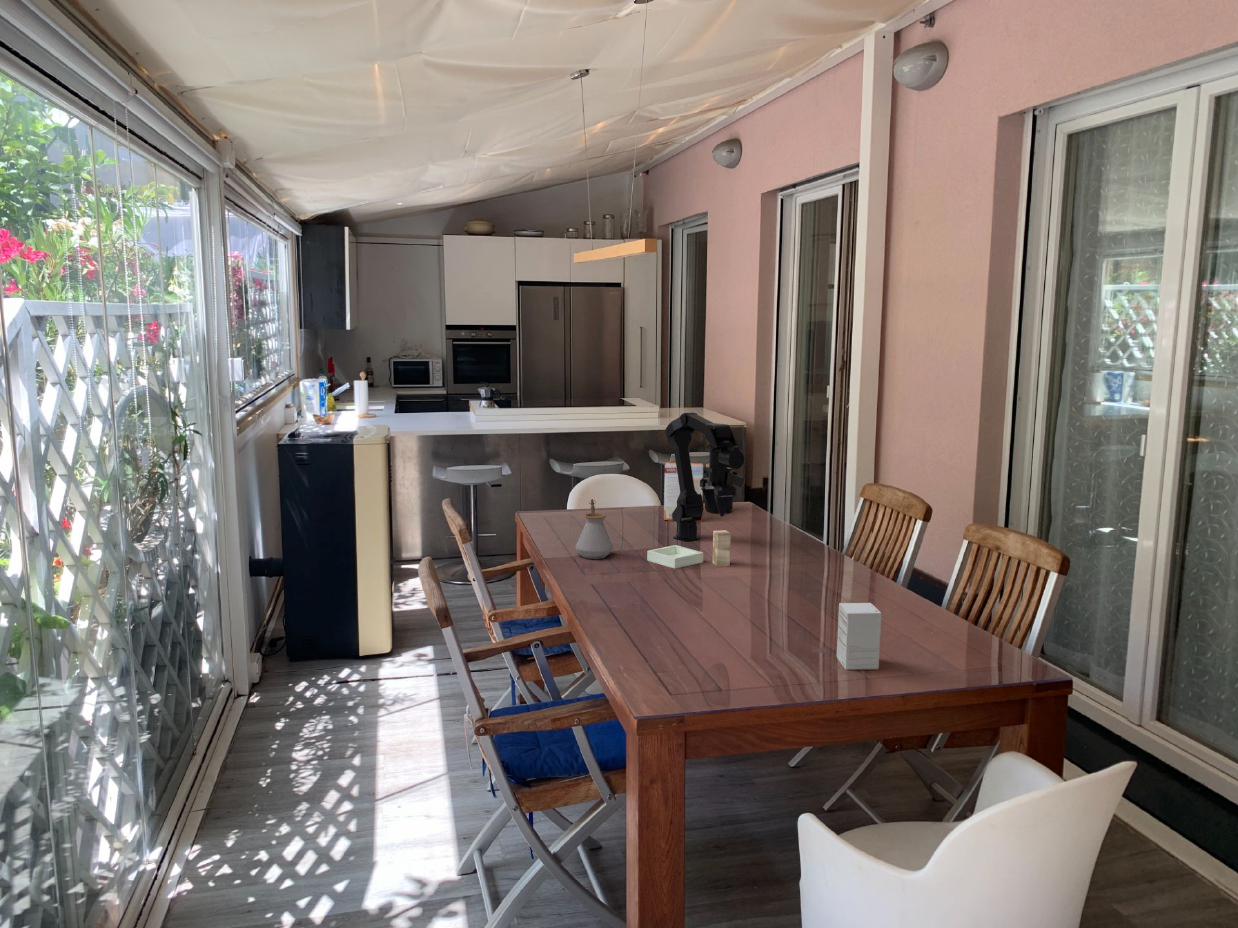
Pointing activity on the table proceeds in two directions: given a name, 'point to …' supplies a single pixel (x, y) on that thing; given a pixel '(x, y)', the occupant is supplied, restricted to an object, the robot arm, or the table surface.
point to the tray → (675, 556)
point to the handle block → (721, 548)
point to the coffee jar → (729, 506)
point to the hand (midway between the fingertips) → (717, 513)
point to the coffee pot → (594, 536)
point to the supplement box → (858, 636)
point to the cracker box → (673, 487)
